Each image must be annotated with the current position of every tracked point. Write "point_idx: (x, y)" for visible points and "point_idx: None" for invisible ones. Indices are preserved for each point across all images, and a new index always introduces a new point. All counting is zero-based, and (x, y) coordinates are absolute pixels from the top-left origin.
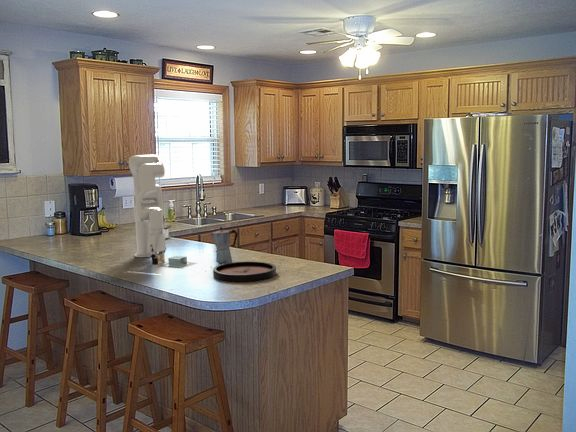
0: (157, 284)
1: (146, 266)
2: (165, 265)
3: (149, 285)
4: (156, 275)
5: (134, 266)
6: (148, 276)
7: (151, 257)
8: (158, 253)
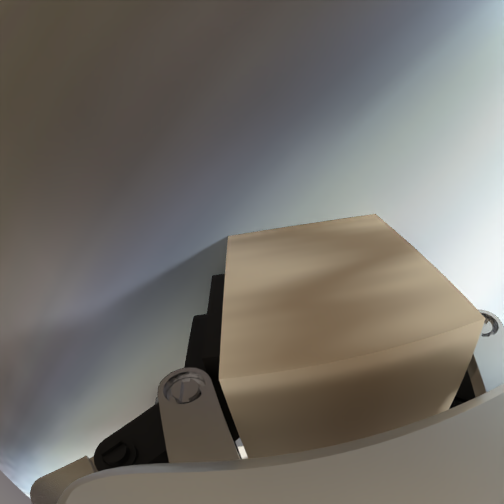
0: (27, 484)
1: (132, 215)
2: (240, 439)
3: (4, 470)
4: (56, 460)
5: (43, 56)
6: (16, 439)
7: (163, 387)
8: (447, 378)
